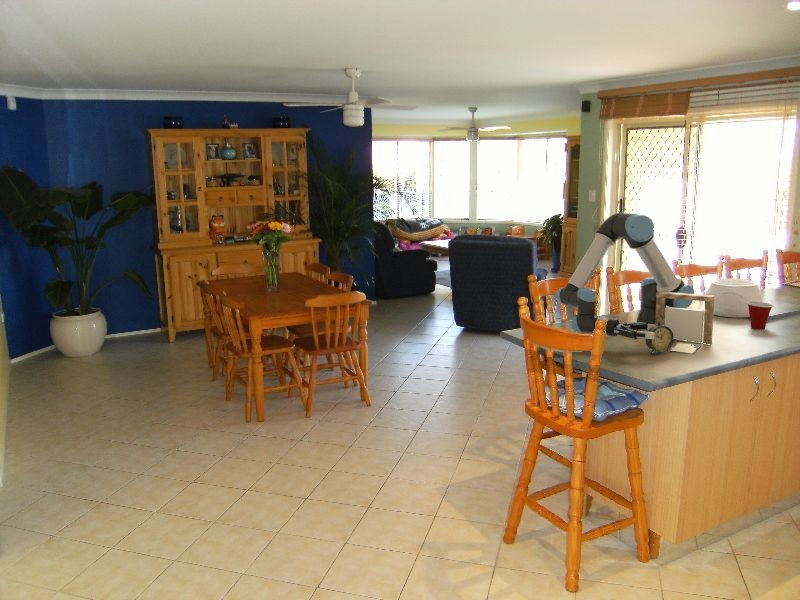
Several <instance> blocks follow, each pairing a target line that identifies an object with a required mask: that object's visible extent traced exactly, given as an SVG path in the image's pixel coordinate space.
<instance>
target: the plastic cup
mask: <svg viewBox="0 0 800 600" xmlns="http://www.w3.org/2000/svg"><path fill="white" fill-rule="evenodd" d="M747 304H748V307H749V316H750V317H749V322H750V329H752V330H757V331H759V330H765V329H766V327H767V322H768V319H769V316H770V312H771V310H772V308H773V307H774V305H773V304H772V303H769V302H764V301H763V302H754V301H750V302H747Z"/></svg>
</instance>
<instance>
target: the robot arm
mask: <svg viewBox="0 0 800 600" xmlns="http://www.w3.org/2000/svg"><path fill="white" fill-rule="evenodd" d="M654 228H655V224H654V222H653V220H652V219H651V218H650V217H649V216H647V215H646V214H641V213H631V212H630V213H629V212H616V213H614V214H612V215H610V216H609V217H608V218H606V219H605V220H604V221H603V222H602V223H601V225H600V226H599V227H598V228H597V231H596V232H595V233H594V236H595V238H594V239H593V241H592V243H591V244H590V245H589V247H588V249H587V251H586V253H585V254H584V256H583V258H582V259H581V260H580V262H579V264H578V265H577V267H576V268H575V271H574V272H573V274H572V275H571V276H570V278H569V280H568V282H567V284H565V286H564V287H560V288H559V289H558V290H557V291H556V292H555V293H556V294H555V299H556V301H557V302H558V303H559V304H562V305H564V306H568V307H572V308H575V309H577V314H574V315H573V316H572V319H571V324H570V325H571V329H572V330H573V331H574V332H577V333H581V334H592V333H593V331H594V329H595V323H596V321H597V320H604V321H606V323H607V325H606V335H605V336H609V337H617V336H620V337H621V336H622V337H625V338H629V339H633V340H637V339H639V338H640V339H645V338H646V339H654V332H647V331H648V330H649V329H650V328H651V327H652V326H654V325H656V298H657V297H656V293H657V292H659V291H660V292H674V293H687V294H695V290H694V288H693V286H692V285H689V284H685V282H684V281H683V279H682V278H681V277H680V275H678V274H675V272H674V271H673V270H672V268H671V266H670V265H669V263H668V262H667V260H666V258H665V257H664V255H663V253H662V252H661V250H660V248H659V247H658V245H657V244H656V241H654V237H655V234H654V232H655V229H654ZM618 240H624V241H625V243H626V244H627V245H628V247H629V248H630V249H631V250H635V251H636V253H637V255H638V256H639V257H640V259H641V261H642V263H644V265H645V267H646V269H647V270H648V272H649V273H650V274H651V277H645V278H643V279H642V280H641V285H640V286H641V288H640V289H641V290H640V294H641V295H640V296H641V297H640V309H639V311H638V312H639V313H638V314H637V317H636V322H628V321H624V322H622V323H620V321H619V319H618V318H613V317H611V318H610V317H609V318H608V317H604V316H602V315H601V316H596V305H597V303H596V300H597V296H596V290H595V289H594V288H590V287H586V286H587V285H588V283H589V282H590V280H591V278H592V276H593V275H594V273H595V272H596V270H597V268H598V266H600V263H601V262H602V261H603V258H604V257H605V255H606V254H607V252H608V251H609V250H610V249H609V248H610V247H611V246H614V245H615V244H616V242H617V241H618ZM693 301H694V300H683V299H670V298H665V308H666V307H674V308H685V309H688V308H689V307H690V306H691V305H692V303H693ZM663 326H665V320H664V325H663ZM646 330H647V331H646Z"/></svg>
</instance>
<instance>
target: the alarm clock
mask: <svg viewBox="0 0 800 600" xmlns="http://www.w3.org/2000/svg"><path fill="white" fill-rule="evenodd" d="M658 316H661V315H658ZM658 316H657V317H658ZM657 317H656V322H657ZM661 317H662V316H661ZM662 320H663V317H662ZM661 322H662V321H661ZM657 323H658V325H654V326H652V327H651V328H650V329H649V330H647V331H646V332H654V339H646V338H644V339H645V345H646V346H647V347H648V348H649V349H650V350H651V352H653V353H654V352H655V351H656V352H657V353H665V352H668V350H669V349H671V348H672V347H673V343H674V340H673V339H674V336H673V332H672V330H671V329H670V328H669V327H667V326H663V325H660V322H657Z"/></svg>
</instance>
